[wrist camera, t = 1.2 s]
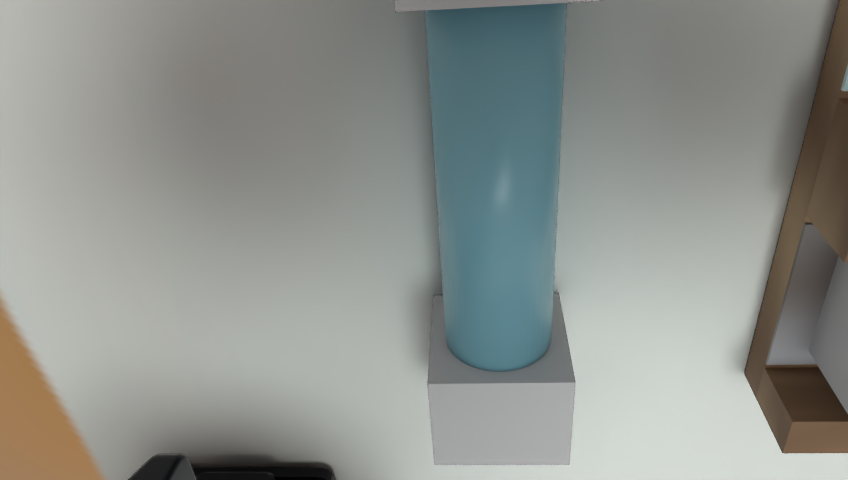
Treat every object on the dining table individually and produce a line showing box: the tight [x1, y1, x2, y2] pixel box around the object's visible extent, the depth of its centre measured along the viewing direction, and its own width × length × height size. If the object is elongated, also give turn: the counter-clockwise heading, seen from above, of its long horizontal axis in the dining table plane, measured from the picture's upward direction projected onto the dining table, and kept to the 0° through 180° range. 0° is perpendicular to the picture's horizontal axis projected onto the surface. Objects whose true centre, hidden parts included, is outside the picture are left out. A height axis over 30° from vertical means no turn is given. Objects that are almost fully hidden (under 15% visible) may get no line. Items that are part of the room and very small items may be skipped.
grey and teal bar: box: [394, 0, 604, 465], centre depth 16 cm, size 15×4×4 cm, turn 4°
